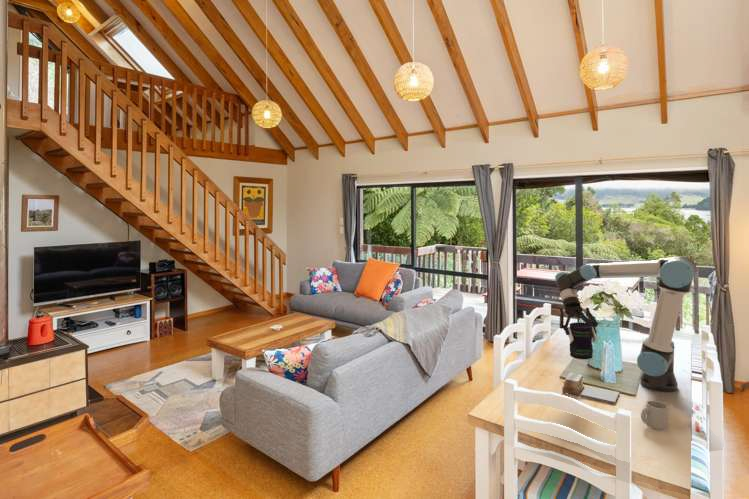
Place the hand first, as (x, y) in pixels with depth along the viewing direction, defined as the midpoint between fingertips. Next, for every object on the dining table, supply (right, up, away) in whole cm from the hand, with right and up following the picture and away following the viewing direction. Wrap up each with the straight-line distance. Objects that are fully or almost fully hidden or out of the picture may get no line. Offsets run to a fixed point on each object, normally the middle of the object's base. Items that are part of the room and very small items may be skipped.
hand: (583, 340), depth 198 cm
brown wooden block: (-1, -25, +7) cm, 27 cm away
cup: (+14, -29, -28) cm, 42 cm away
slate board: (+8, -26, 0) cm, 27 cm away
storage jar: (+1, -8, +4) cm, 9 cm away
